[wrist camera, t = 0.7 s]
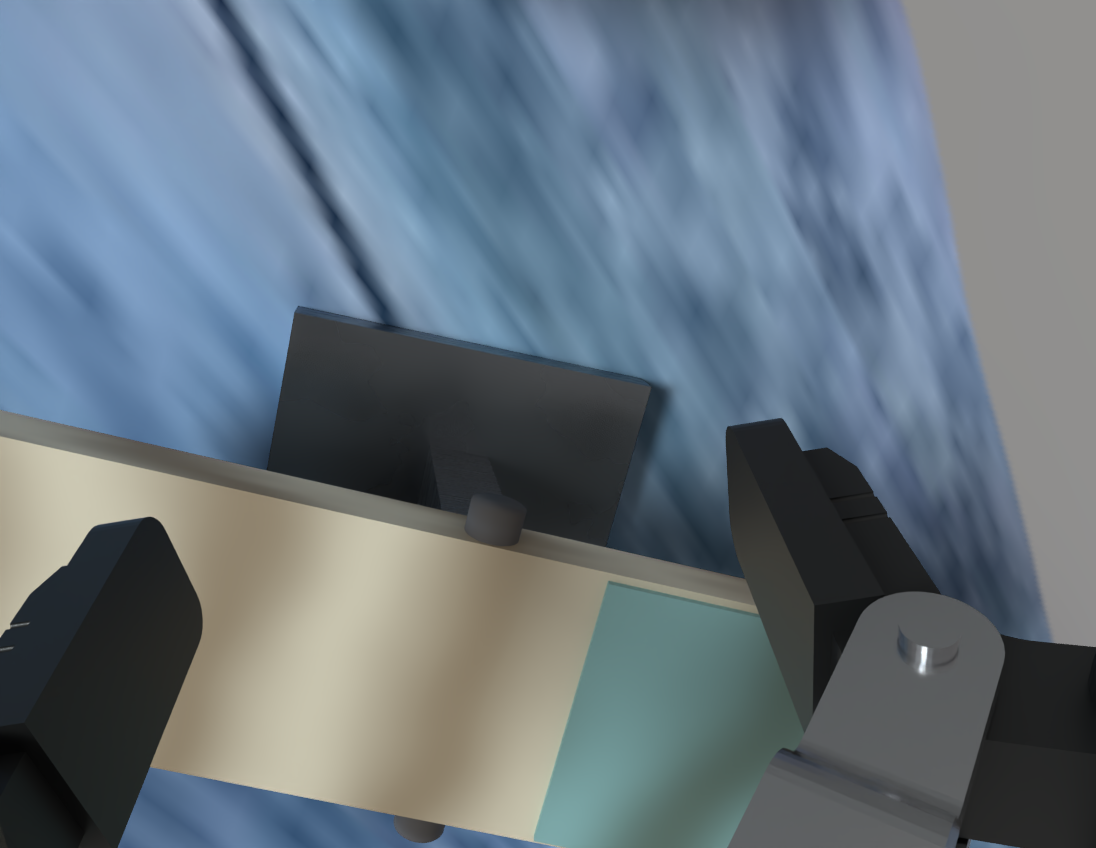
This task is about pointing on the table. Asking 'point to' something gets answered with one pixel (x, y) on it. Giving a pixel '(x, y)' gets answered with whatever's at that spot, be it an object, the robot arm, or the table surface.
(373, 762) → the beam
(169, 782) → the table surface
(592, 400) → the stand
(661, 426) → the table surface
